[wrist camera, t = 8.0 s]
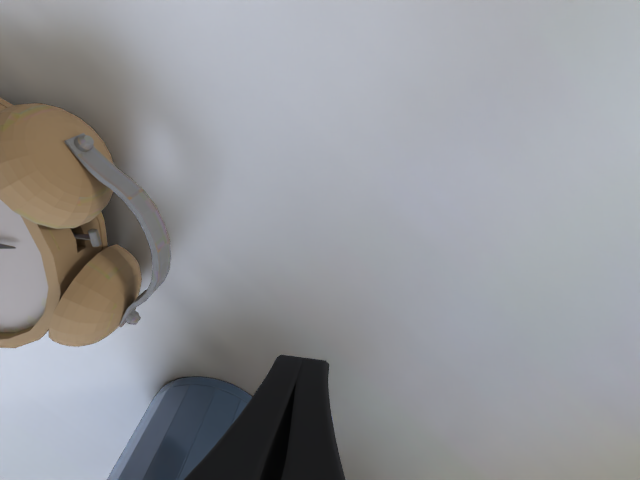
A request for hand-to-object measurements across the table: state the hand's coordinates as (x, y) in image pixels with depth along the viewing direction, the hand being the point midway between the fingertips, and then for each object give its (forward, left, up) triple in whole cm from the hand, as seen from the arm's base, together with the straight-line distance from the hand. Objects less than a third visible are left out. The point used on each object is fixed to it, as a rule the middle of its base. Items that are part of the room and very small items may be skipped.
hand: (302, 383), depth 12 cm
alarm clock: (0, +14, -8) cm, 16 cm away
